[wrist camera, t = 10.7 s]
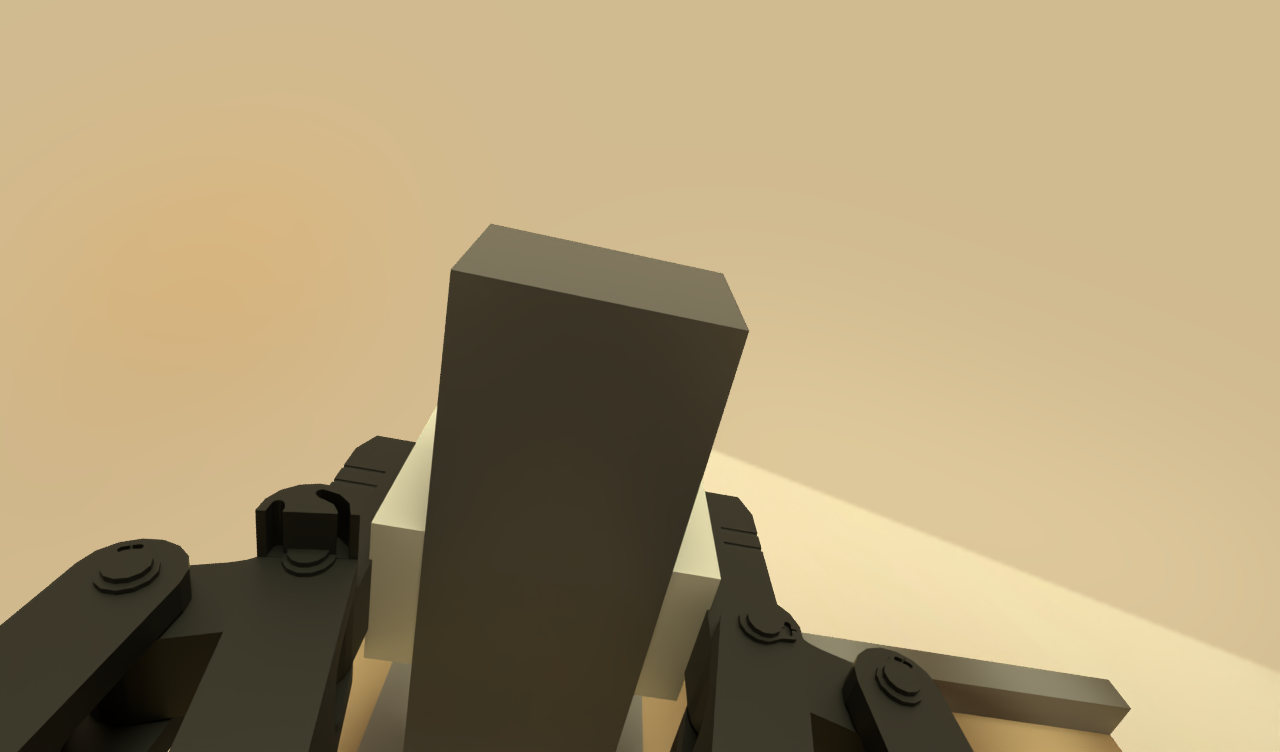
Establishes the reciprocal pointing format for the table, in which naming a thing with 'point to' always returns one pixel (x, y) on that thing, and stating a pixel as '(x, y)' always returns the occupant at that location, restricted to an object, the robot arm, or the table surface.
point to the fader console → (974, 689)
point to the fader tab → (556, 493)
